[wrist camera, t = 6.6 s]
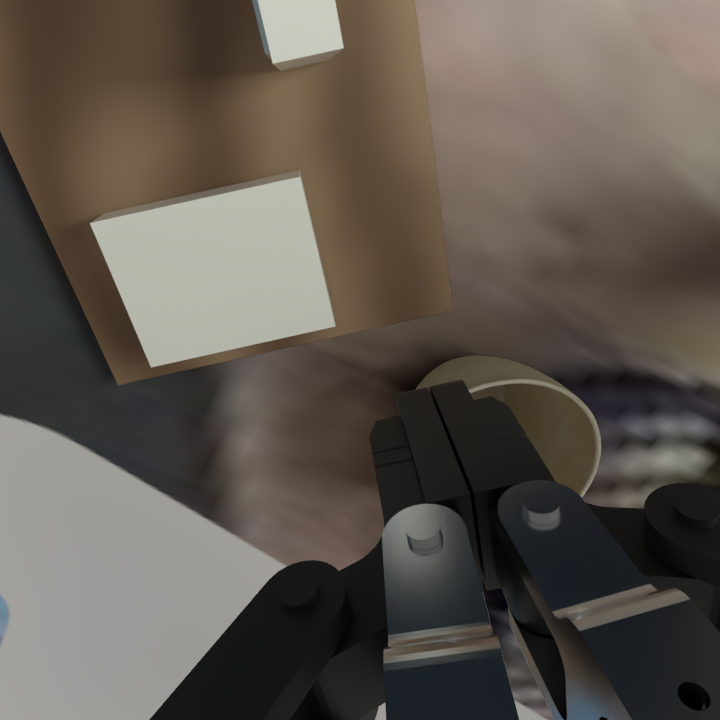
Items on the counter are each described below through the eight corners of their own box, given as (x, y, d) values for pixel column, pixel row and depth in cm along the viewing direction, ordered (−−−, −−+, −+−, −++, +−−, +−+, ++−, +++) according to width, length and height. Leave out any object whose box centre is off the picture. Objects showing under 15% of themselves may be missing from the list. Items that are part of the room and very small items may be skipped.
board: (381, -222, 20) (385, -236, 19) (448, 303, 30) (453, 310, 29) (-102, -117, 20) (-120, -127, 19) (123, 376, 30) (118, 385, 29)
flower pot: (343, 418, 32) (354, 500, 26) (451, 283, 29) (494, 339, 23) (467, 487, 36) (505, 575, 29) (576, 373, 33) (644, 443, 26)
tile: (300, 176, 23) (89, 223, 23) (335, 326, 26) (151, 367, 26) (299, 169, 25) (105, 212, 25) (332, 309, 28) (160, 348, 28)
